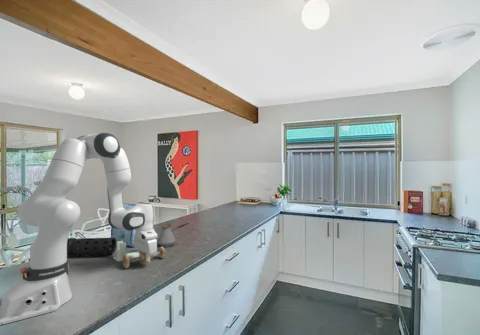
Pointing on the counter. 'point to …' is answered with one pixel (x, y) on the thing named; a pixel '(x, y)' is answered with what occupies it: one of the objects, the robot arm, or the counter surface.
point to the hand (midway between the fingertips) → (144, 259)
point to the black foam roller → (91, 246)
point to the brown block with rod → (142, 257)
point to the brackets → (124, 252)
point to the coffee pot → (168, 235)
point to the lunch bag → (124, 231)
